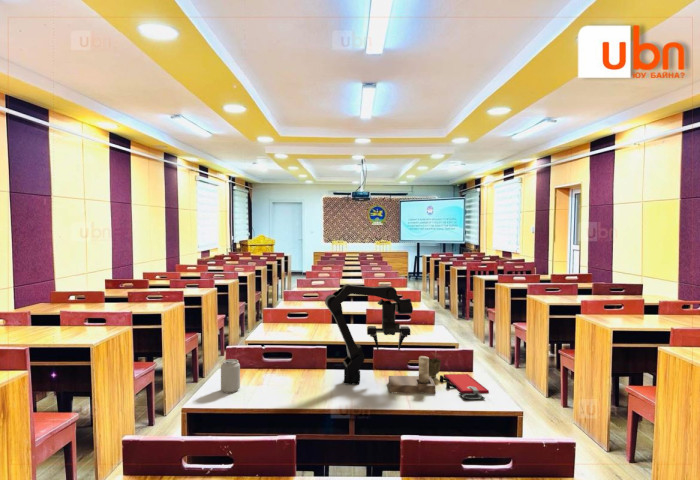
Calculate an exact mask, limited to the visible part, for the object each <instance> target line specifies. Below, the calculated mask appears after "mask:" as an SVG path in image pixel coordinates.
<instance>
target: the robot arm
mask: <svg viewBox="0 0 700 480" xmlns="http://www.w3.org/2000/svg"><path fill="white" fill-rule="evenodd" d="M350 295H356V296H357V295H358V296H370V297H377V298H380V300H379V301H378V302H377V305H379V306H382V307H381V327H379V328H378V327H377V326H376V325H369V326H366V334H367V335H368V336H369V337H371V338H372V339H373V341H374V343H375V347H376V350H377V351H379V342H378V341H379V340H378V334H379V333H383V335H384V336H389V335H391V336H395V335H396V333H397V334H398V335H399V336H398V345H397V346H398V347H397V348H398V351H400V350H401V347H402V344H403V341H404V340H405V338H408V336H411V328H410V327H409V326H406V325H405V326H402V325H401V324H400V323H399V322H396V313H397V314H398V315H412V314H413V312H414V311H413V310H414V308H413V302H412V299H411V298H400V296H399V295H398V292H397V289H396V288H395V287H393V286H390V285H387V284H386V285H380V286H379V285H378V286H364V285H354V284H350V283H349V284H348V283H346V284H344V285H342V287H341V288H339V289H337V290H336V291H335V292H334V293H332V294H329V295H327V296H326V297H325V300H324V304H325V306H326V307H327V309H328V310H329V312H330V314H332V316H333V318H334V320H335V323H336V325H337V328H338V330H339V332H340V334H341V337H342V339H343V341H344V344H345V346H346V353H347V356H346V357H345V358H344V359H343V361H342V362H343V363H342V364H343V365H344V367H343V369H344V370H343V385H360V382H361V370H360V368H361V366H362V365H363V364H364V362H365V356H366V354H364V351H363V347H362V346H361V345H360V344H359V343H356V342H355V340H354V337H353V335H352V333H351V331H350V329H349V326H348V324H347V321H346V318H345V316H344V314H343V306H342V303H343V302H344V301H345V300H346V299H347V298H348V297H349V296H350ZM384 299H385V300H384ZM392 301H393V302H392ZM377 333H378V334H377Z"/></svg>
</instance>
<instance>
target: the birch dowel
mask: <svg viewBox="0 0 700 480" xmlns="http://www.w3.org/2000/svg"><path fill="white" fill-rule="evenodd" d="M429 358H430V357H428V356H425V355H420V356H419V357H418V376H419V381H418V382H419V384H429Z"/></svg>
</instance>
